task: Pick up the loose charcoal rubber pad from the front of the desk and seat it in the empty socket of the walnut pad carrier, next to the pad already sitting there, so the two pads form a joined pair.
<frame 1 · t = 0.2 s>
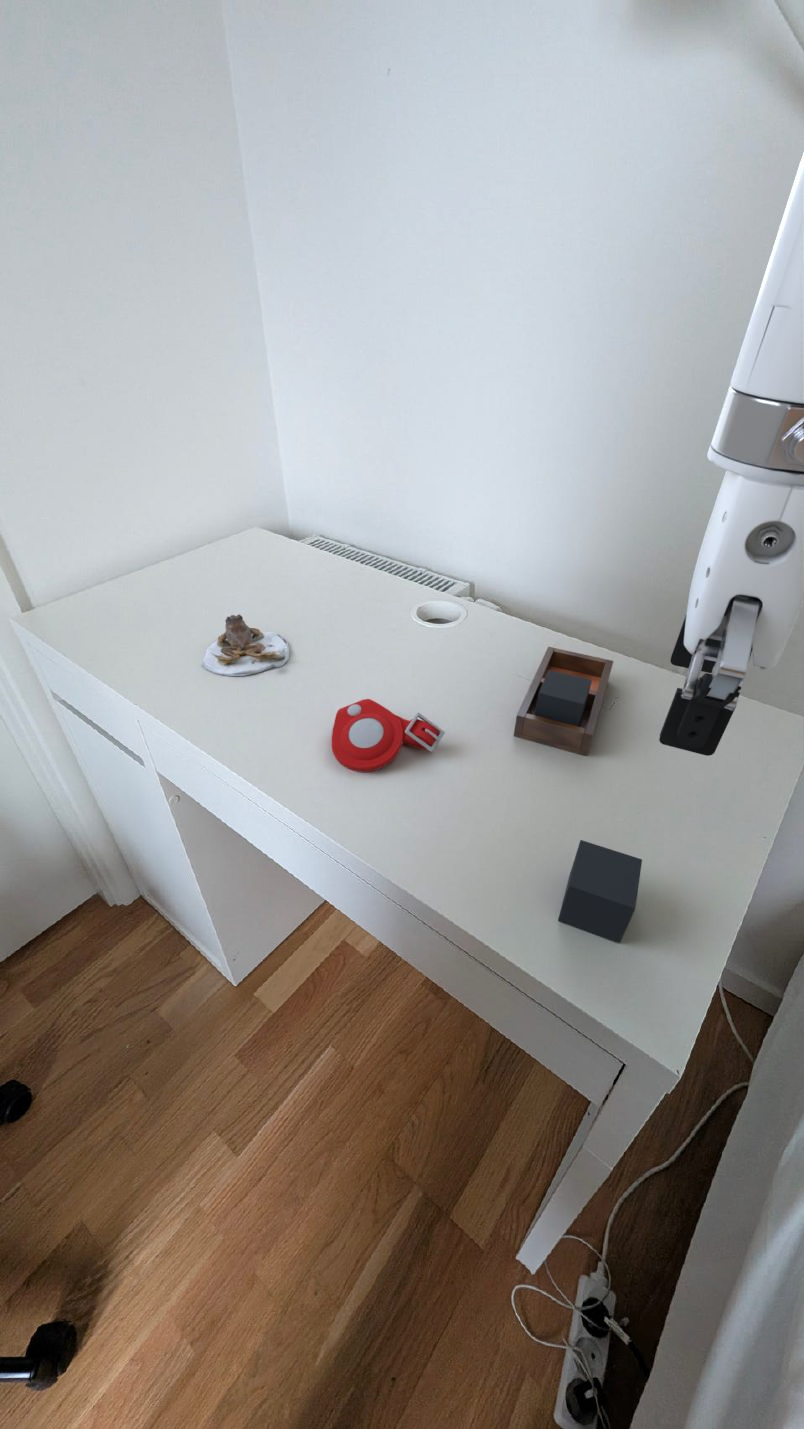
hand: (688, 703, 40), 20 cm above the table, tool pointing down, fingers open, 9 cm apart
frog figurine: (245, 654, 80), on the table
seated pad: (558, 720, 68), point 1 cm above the table, touching pad carrier
loose pad: (593, 907, 49), on the table
tracker holder: (383, 749, 65), on the table
pad carrier: (563, 706, 71), on the table
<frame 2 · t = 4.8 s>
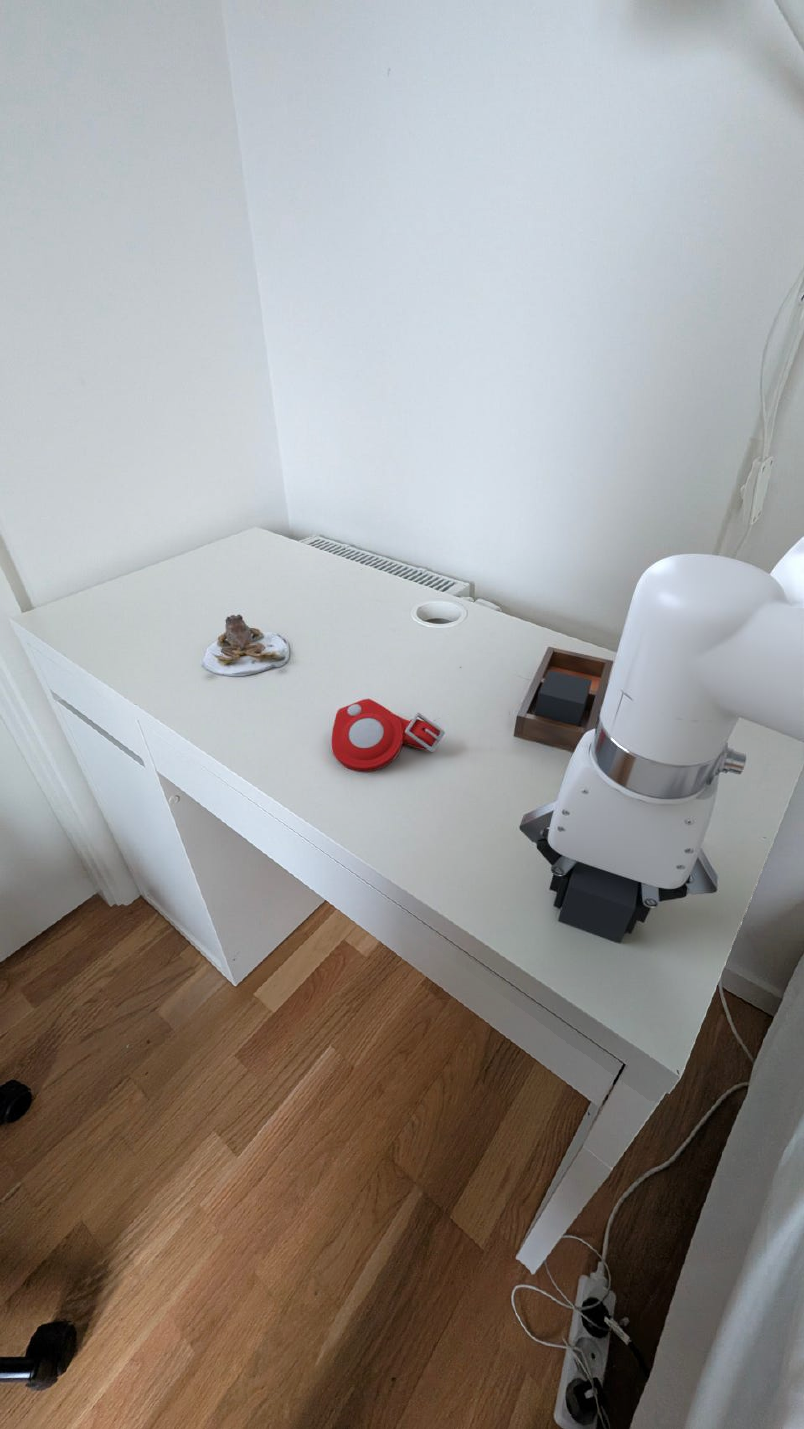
hand: (594, 904, 49), 0 cm above the table, tool pointing down, fingers closed on loose pad, 5 cm apart
loose pad: (593, 907, 49), on the table, touching gripper
everything else where it was.
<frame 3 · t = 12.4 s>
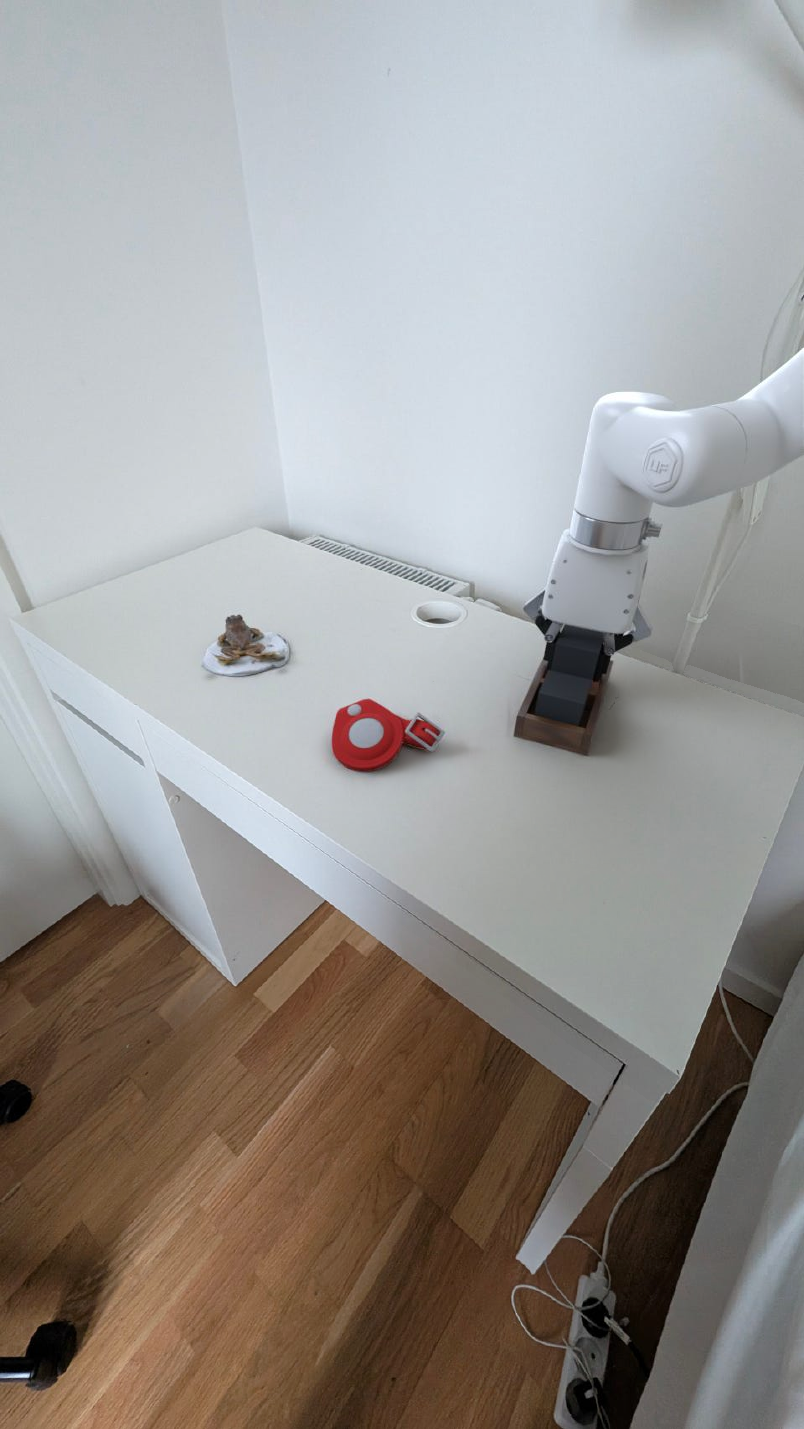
hand: (573, 669, 72), 3 cm above the table, tool pointing down, fingers closed on loose pad, 4 cm apart
loose pad: (573, 672, 72), point 3 cm above the table, touching gripper
everything else where it was.
when the fingers open (4 cm above the table, at t = 16.5 s): loose pad drops 2 cm, resting on pad carrier.
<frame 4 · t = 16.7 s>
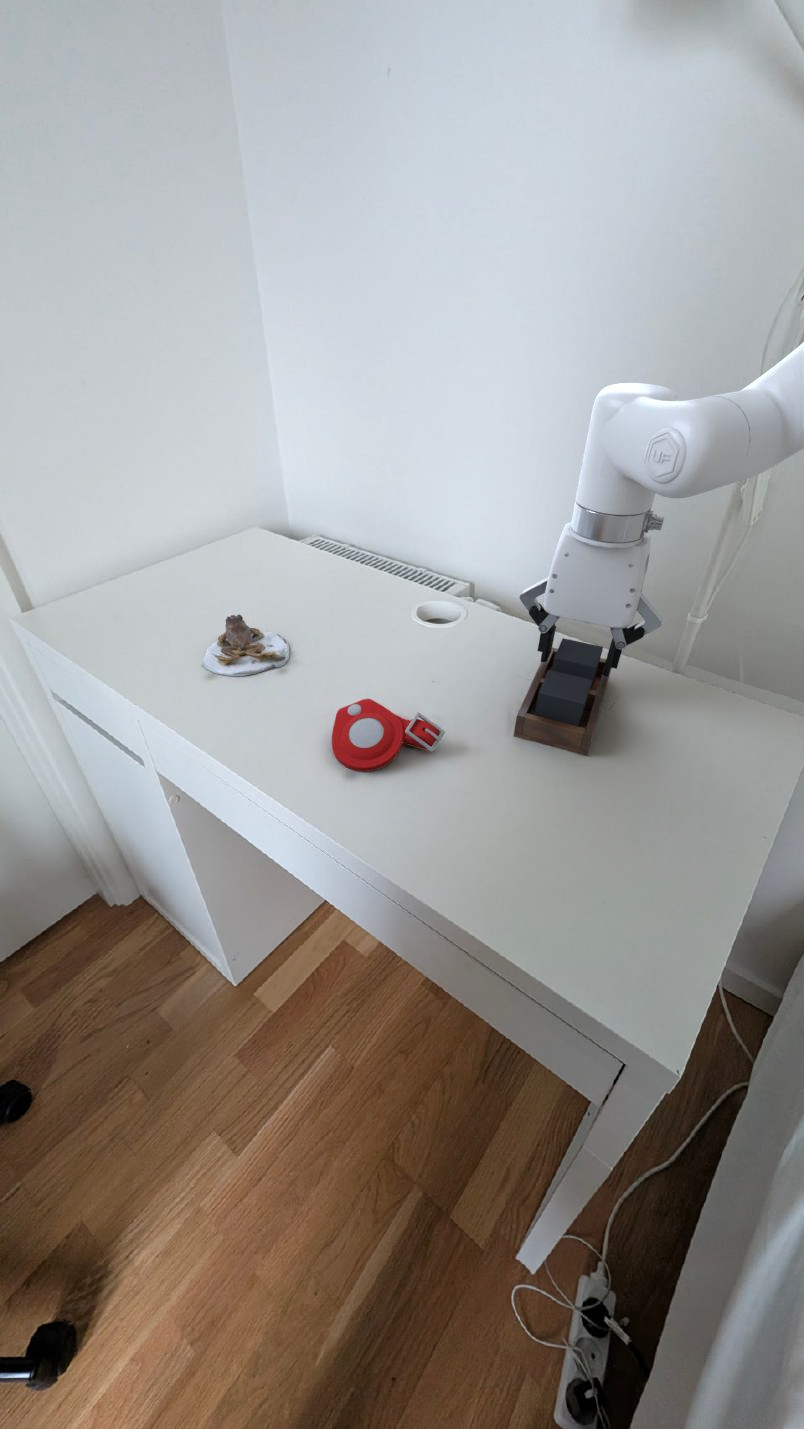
hand: (576, 662, 71), 4 cm above the table, tool pointing down, fingers open, 6 cm apart
loose pad: (571, 685, 73), point 1 cm above the table, touching pad carrier
everything else where it was.
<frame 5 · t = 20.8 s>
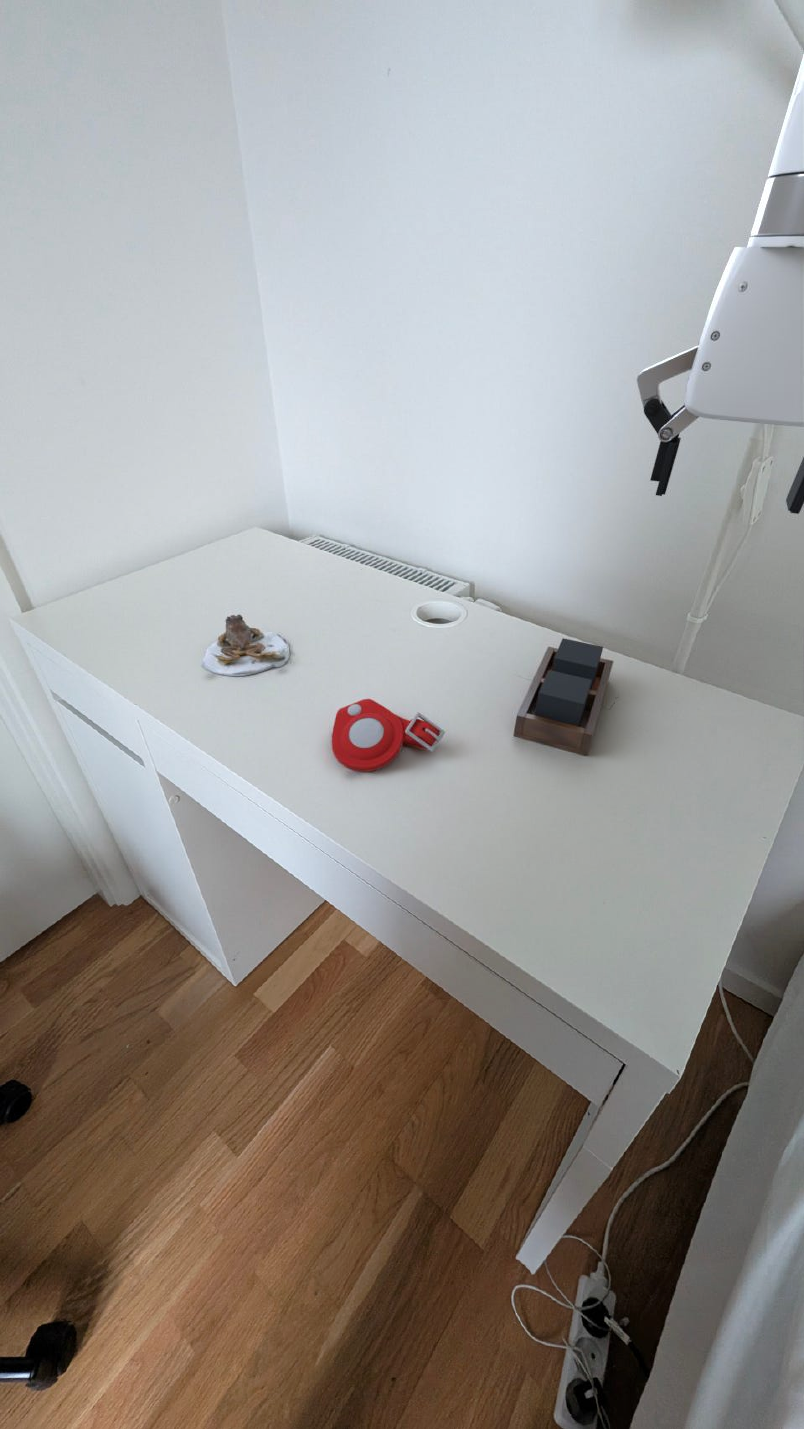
hand: (724, 499, 46), 28 cm above the table, tool pointing down, fingers open, 9 cm apart
nothing on the table moved.
at the end: loose pad 0.1 cm from the target spot in the pad carrier, point 0.8 cm above the pad carrier's base; loose pad tilted 0°; seated pad moved 0.0 cm from its start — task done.
